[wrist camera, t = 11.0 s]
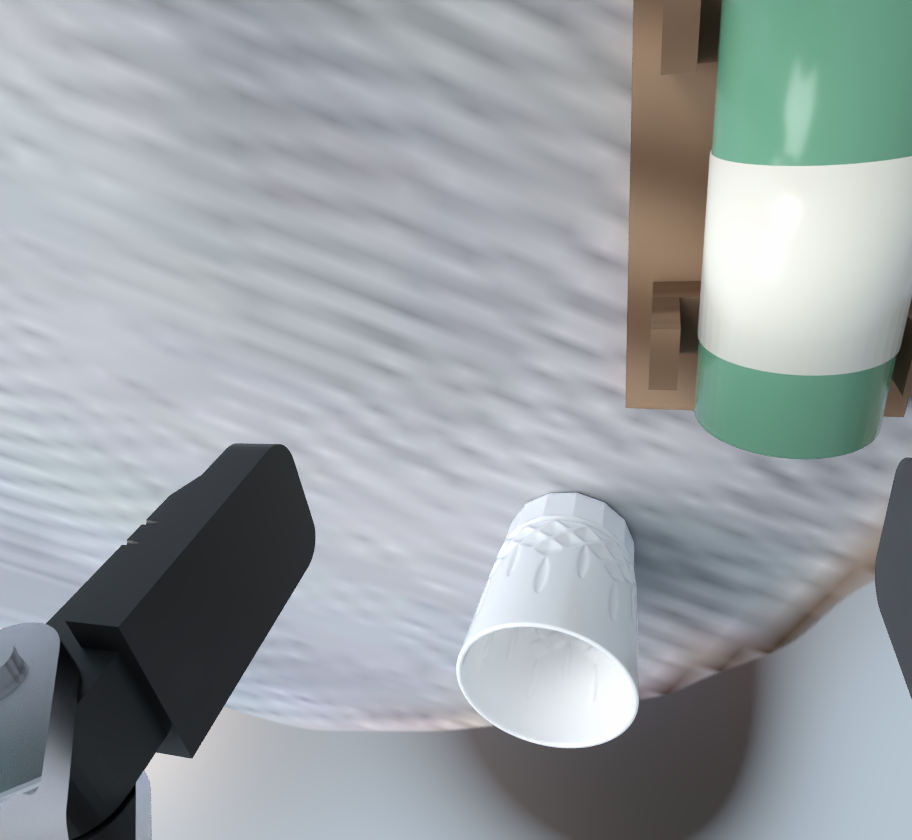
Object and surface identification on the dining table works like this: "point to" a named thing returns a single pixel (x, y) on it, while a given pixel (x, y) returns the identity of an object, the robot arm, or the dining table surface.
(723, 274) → the green bottle
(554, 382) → the dining table surface
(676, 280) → the bottle rest
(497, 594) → the white cup
